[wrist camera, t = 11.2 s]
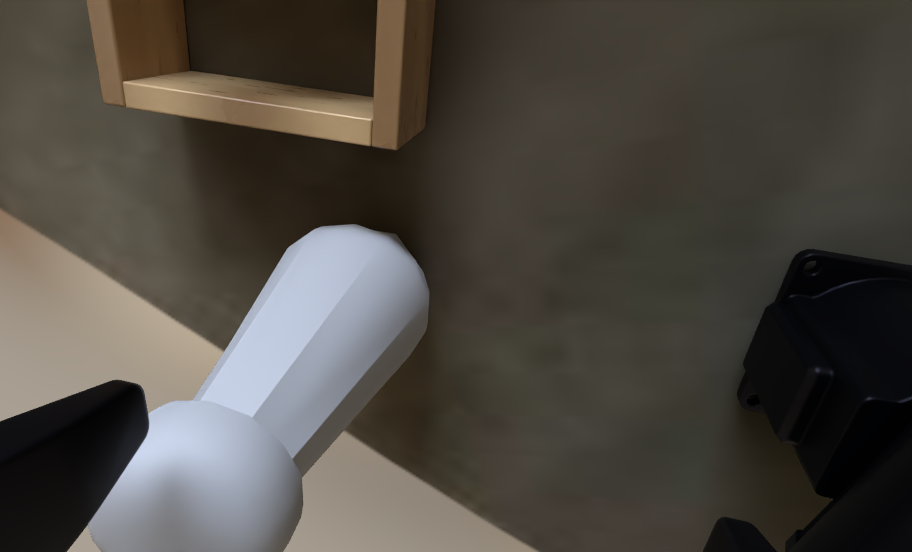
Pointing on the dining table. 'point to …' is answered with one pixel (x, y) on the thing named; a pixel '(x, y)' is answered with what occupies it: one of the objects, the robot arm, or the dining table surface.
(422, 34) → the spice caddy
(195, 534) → the salt shaker
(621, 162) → the dining table surface
